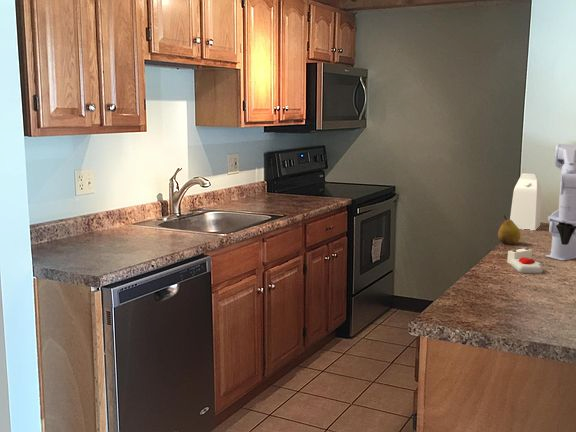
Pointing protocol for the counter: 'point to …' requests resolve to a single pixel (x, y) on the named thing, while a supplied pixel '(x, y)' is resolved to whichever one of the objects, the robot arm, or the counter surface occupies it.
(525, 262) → the icon
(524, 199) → the milk
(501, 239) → the fruit
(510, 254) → the ledger strip
